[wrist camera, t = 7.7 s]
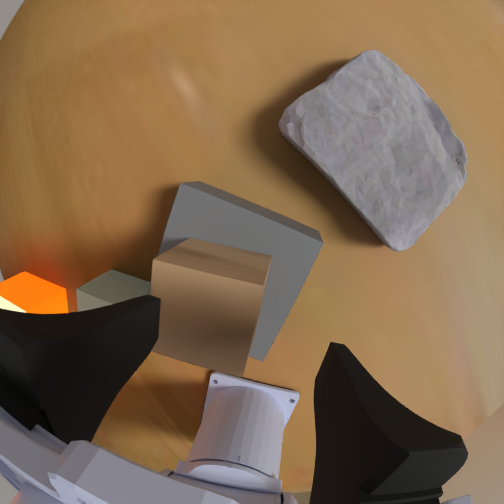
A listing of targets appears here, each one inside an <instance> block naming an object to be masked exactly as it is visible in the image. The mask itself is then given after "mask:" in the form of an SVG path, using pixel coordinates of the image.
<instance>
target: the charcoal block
mask: <svg viewBox="0 0 504 504" xmlns="http://www.w3.org/2000/svg"><path fill="white" fill-rule="evenodd" d="M189 238H194V239H198V240H203V241H207V242H212V243H217V244H221V245H226V246H230V247H235V248H239V249H244V250H249V251H253V252H258V253H262V254H267V255H271V256H272V259H271V263H270V268H269V273H268V277H267V282H266V286H265V291H264V295H263V300H262V304H261V309H260V313H259V318H258V322H257V327H256V331H255V335H254V338H253V342H252V346H251V349H250V353H249V356H250V357H252V358H255V359H257V360H260V361H263V360H264V358H265V356H266V355H267V353H268V351H269V349H270V347H271V345H272V344H273V342H274V340H275V338H276V336H277V334H278V333H279V331H280V329H281V327H282V325H283V323H284V321H285V319H286V317H287V316H288V314H289V312H290V310H291V308H292V306H293V304H294V302H295V300H296V298H297V296H298V294H299V292H300V290H301V288H302V286H303V284H304V282H305V280H306V278H307V276H308V274H309V272H310V270H311V268H312V266H313V264H314V262H315V260H316V258H317V255H318V253H319V251H320V249H321V247H322V245H323V241H322V238H321V236H320V233H319V231H317V230H315V229H313V228H310V227H308V226H306V225H304V224H301V223H299V222H297V221H295V220H292V219H290V218H288V217H285V216H283V215H281V214H278V213H276V212H274V211H271V210H269V209H267V208H264V207H262V206H259V205H257V204H255V203H252V202H250V201H247V200H245V199H243V198H240V197H238V196H235V195H233V194H230V193H228V192H225V191H223V190H220V189H218V188H215V187H213V186H210V185H208V184H205V183H202V182H186V183H180V186H179V189H178V192H177V195H176V198H175V201H174V204H173V207H172V210H171V213H170V216H169V219H168V222H167V226H166V229H165V232H164V236H163V239H162V242H161V246H160V249H159V253H158V256H159V255H161V254H163V253H164V252H166V251H168V250H170V249H171V248H173V247H175V246H177V245H178V244H180V243H182V242H184V241H185V240H187V239H189ZM158 256H157V257H158ZM150 293H151V282H150V286H149V290H148V294H147V295H150Z"/></svg>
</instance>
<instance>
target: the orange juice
mask: <svg viewBox="0 0 504 504" xmlns="http://www.w3.org/2000/svg"><path fill="white" fill-rule="evenodd" d="M0 308H1V309H6V310H12V311H18V312H25V313H38V314H55V313H68V305H67V296H66V289H65V288H63V287H60V286H58V285H55V284H53V283H51V282H48V281H46V280H43V279H41V278H39V277H36V276H34V275H32V274H30V273H27V272H25V271H24V272H22V273H20V274H18V275H15V276H13V277H11V278H9V279H7V280H5V281H2V282H0Z"/></svg>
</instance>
